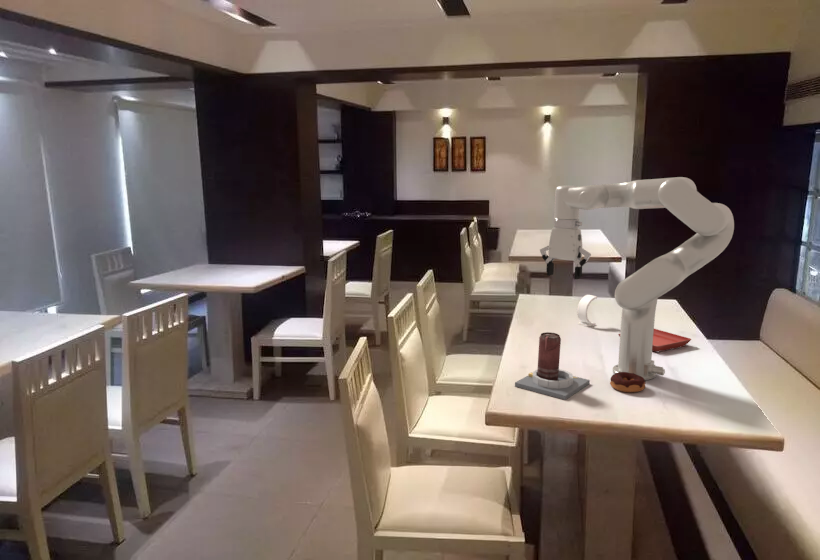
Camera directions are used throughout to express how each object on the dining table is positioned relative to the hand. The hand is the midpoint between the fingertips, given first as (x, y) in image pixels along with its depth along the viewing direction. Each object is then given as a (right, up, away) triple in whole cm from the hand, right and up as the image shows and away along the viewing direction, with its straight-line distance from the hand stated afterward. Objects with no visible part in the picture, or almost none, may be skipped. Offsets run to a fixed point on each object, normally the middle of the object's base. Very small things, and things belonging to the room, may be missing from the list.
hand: (563, 276), depth 192 cm
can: (-9, -31, -17) cm, 36 cm away
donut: (+13, -33, -20) cm, 41 cm away
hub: (-8, -32, -18) cm, 38 cm away
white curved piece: (+22, -20, +48) cm, 56 cm away
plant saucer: (+39, -25, +22) cm, 51 cm away
